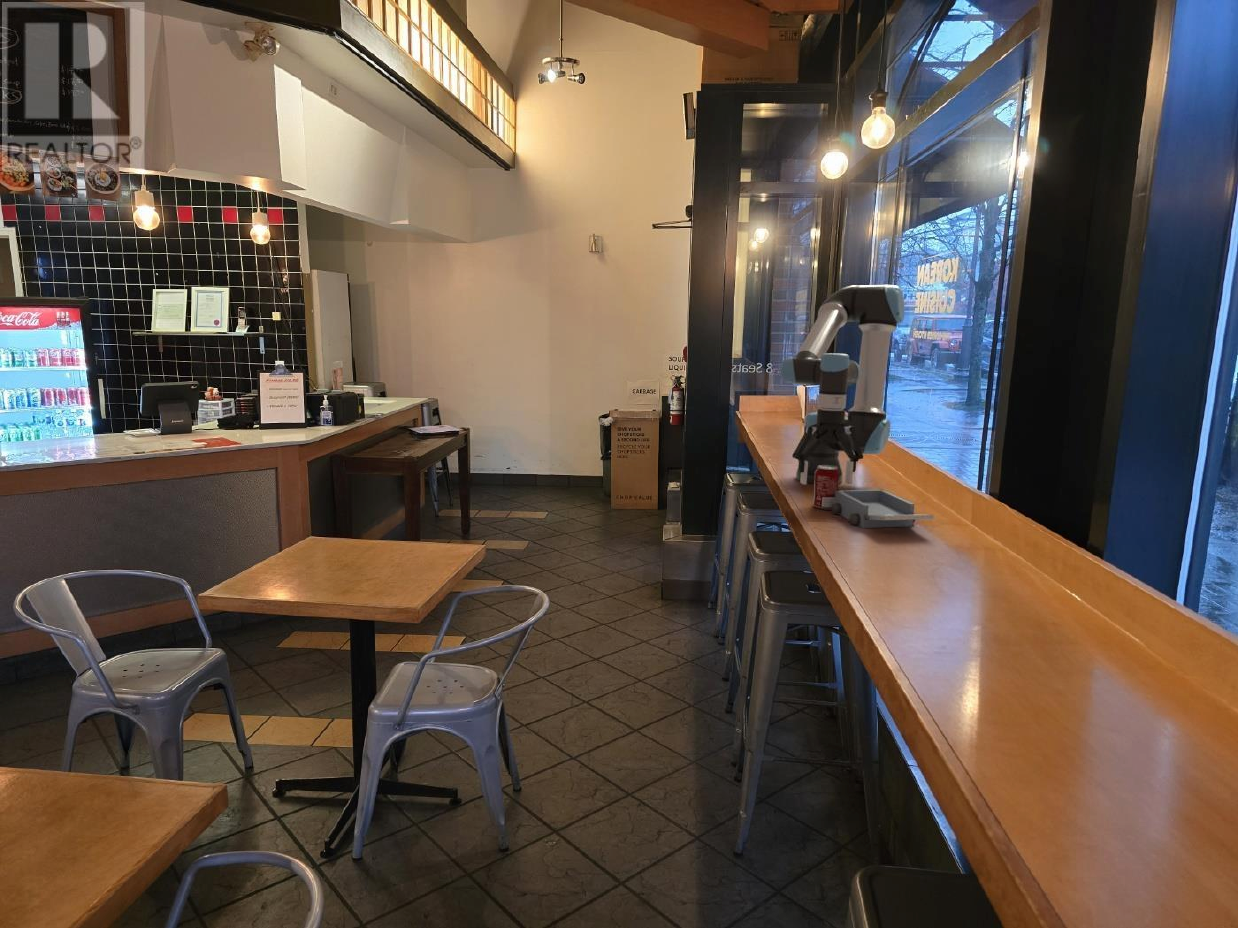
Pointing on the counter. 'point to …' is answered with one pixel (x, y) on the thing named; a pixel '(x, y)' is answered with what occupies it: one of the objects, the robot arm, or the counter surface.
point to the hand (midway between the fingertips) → (825, 483)
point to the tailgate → (898, 517)
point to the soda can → (825, 486)
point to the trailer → (871, 507)
